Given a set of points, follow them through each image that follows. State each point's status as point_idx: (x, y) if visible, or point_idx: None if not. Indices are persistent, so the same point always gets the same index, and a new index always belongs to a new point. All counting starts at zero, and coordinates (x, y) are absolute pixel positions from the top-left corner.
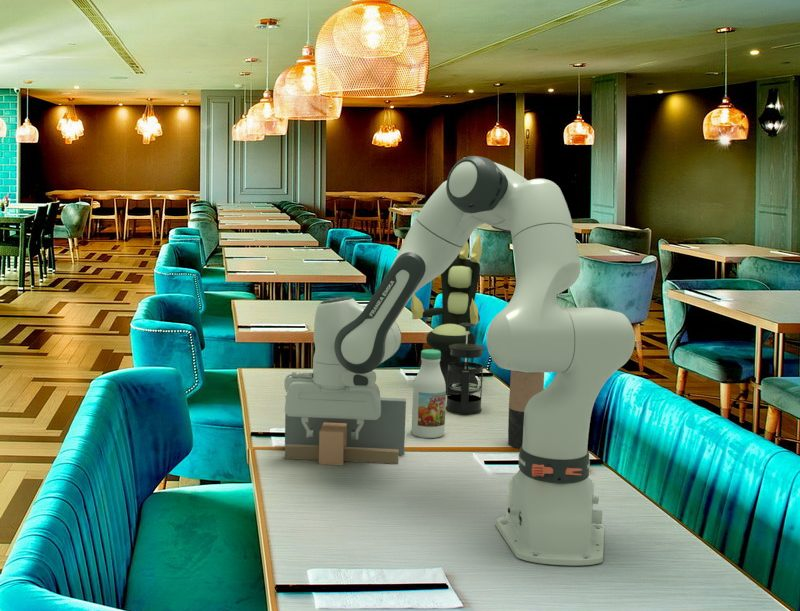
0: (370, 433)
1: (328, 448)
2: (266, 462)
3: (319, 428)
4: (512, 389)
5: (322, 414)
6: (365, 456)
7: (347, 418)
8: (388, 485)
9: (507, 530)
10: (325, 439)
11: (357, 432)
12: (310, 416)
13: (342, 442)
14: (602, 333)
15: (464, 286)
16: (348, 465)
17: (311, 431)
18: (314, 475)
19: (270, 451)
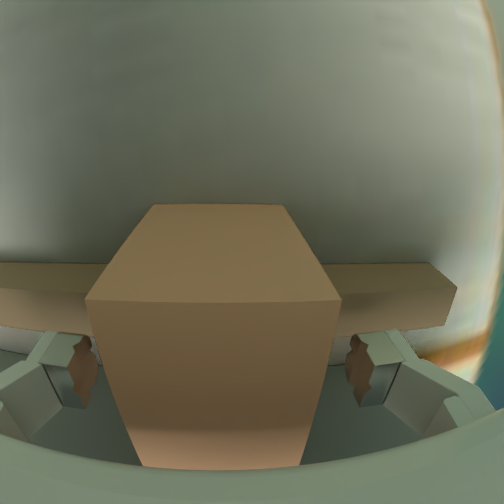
0: (56, 425)
1: (234, 233)
2: (486, 206)
3: (310, 449)
4: None
5: (355, 490)
6: (52, 276)
7: (41, 449)
8: None
9: None
10: (265, 264)
11: (29, 359)
12: (461, 432)
13: (120, 254)
14: None
15: None
16: (124, 203)
17: (383, 357)
18: (288, 21)
19: (456, 327)
